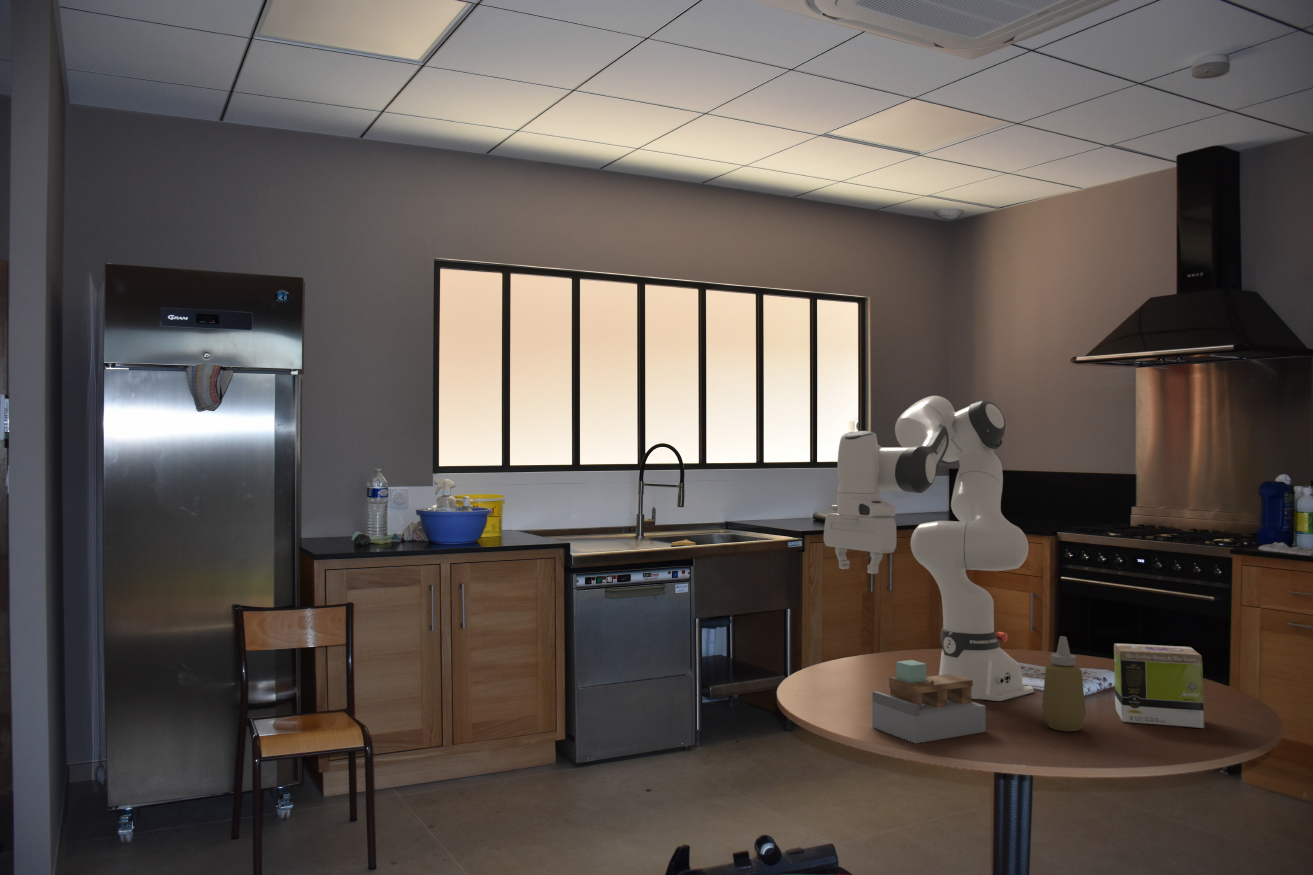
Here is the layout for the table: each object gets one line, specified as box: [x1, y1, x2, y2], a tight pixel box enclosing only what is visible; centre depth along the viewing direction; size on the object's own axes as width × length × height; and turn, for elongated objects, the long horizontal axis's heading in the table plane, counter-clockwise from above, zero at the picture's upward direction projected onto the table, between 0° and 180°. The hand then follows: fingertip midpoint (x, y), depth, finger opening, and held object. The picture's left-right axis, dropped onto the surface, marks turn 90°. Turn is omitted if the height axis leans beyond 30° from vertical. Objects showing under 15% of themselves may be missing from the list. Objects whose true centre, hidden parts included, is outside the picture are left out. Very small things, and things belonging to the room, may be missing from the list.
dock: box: [871, 690, 987, 744], centre depth 184 cm, size 18×12×7 cm, turn 117°
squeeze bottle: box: [1041, 635, 1087, 732], centre depth 185 cm, size 8×8×18 cm
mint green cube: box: [895, 659, 927, 683], centre depth 182 cm, size 4×4×4 cm
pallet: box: [888, 674, 973, 710], centre depth 184 cm, size 16×6×5 cm, turn 117°
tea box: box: [1113, 642, 1205, 729], centre depth 192 cm, size 15×10×15 cm, turn 71°
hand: (858, 570), depth 200 cm, fingers open, 8 cm apart
